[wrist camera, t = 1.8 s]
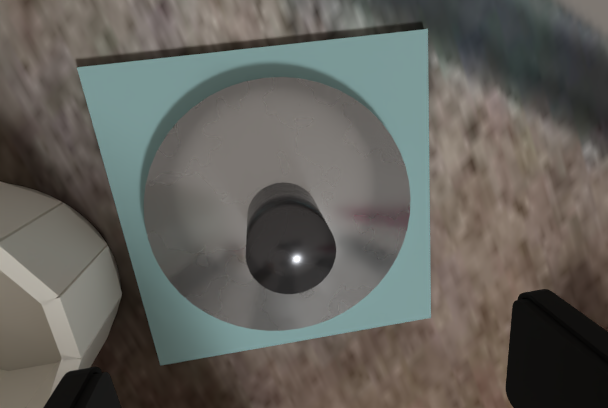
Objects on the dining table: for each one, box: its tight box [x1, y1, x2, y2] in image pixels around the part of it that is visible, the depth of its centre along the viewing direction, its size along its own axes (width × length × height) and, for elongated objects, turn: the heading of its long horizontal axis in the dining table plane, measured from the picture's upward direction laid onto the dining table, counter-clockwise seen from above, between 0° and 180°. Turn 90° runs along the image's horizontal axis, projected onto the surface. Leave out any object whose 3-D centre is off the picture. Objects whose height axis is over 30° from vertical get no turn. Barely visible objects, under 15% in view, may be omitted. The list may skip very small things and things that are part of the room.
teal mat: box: [77, 29, 431, 366], centre depth 22 cm, size 18×18×1 cm
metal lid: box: [144, 77, 411, 331], centre depth 19 cm, size 15×15×6 cm
